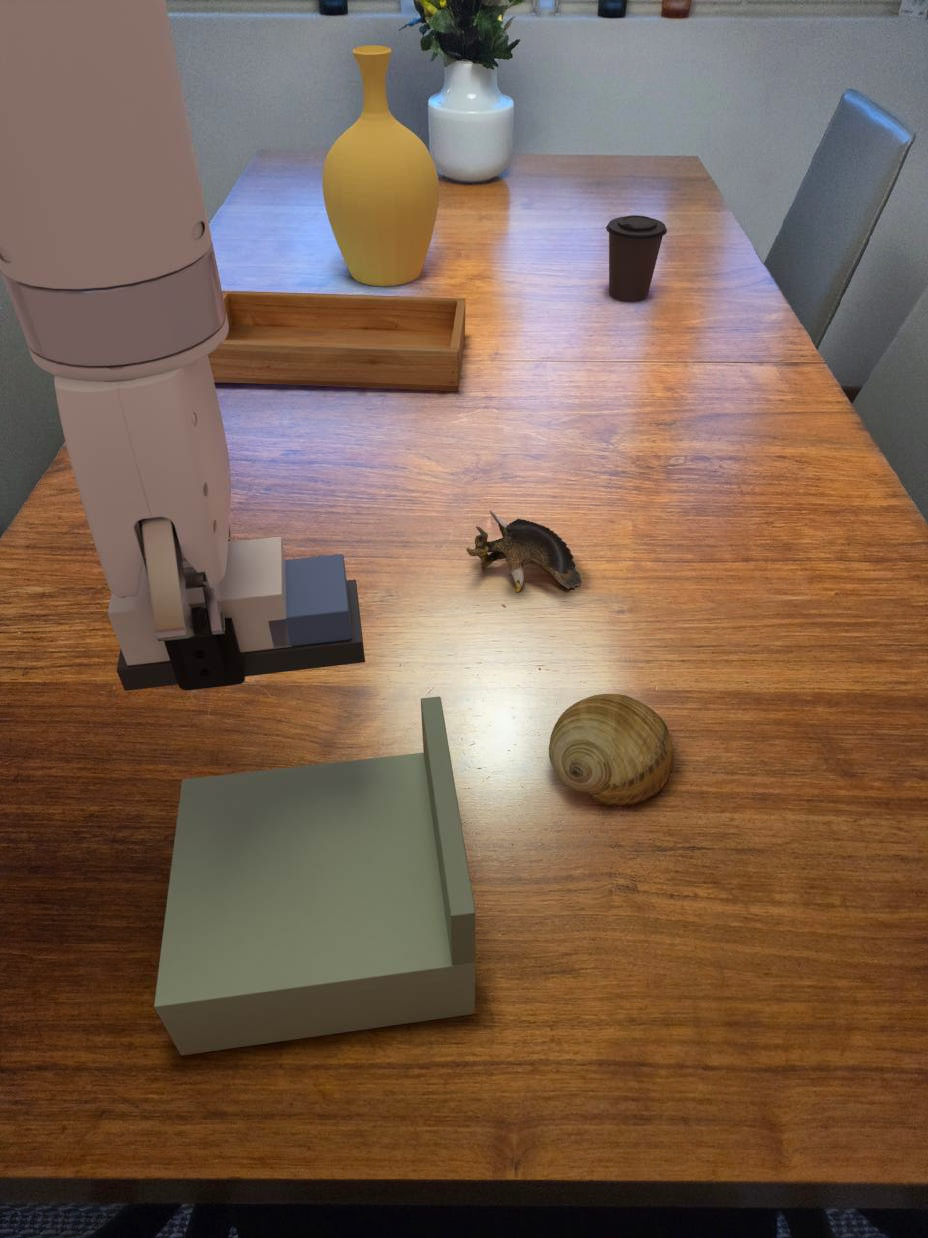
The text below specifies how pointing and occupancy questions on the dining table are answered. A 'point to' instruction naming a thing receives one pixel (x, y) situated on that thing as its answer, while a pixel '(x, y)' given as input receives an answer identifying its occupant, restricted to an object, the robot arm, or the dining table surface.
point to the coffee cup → (633, 255)
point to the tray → (341, 340)
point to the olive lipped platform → (318, 901)
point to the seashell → (612, 749)
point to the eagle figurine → (528, 551)
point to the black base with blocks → (254, 615)
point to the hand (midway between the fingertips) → (215, 641)
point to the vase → (380, 187)
